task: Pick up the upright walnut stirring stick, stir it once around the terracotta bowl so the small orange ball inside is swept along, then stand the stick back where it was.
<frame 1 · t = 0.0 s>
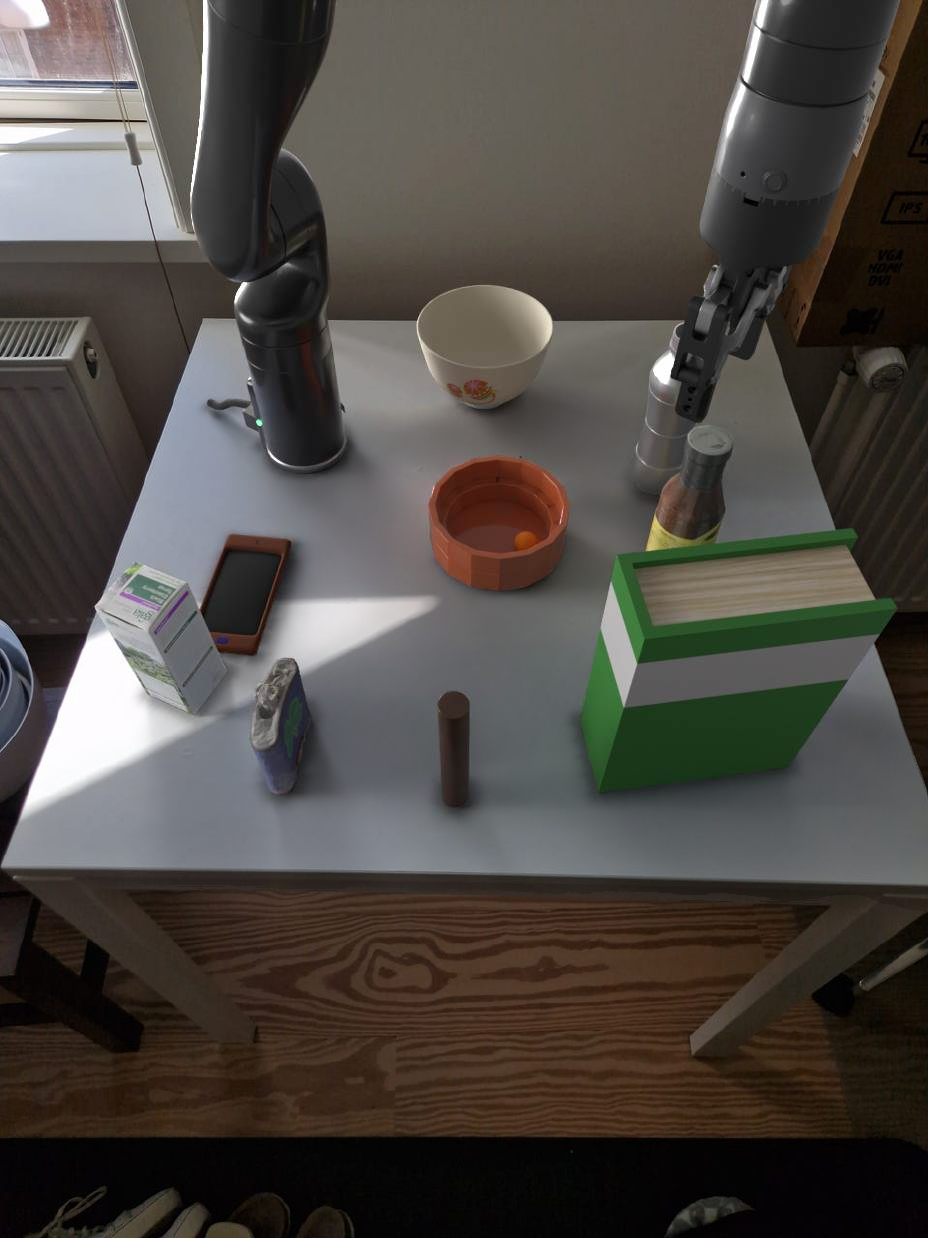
hand: (714, 384, 63), 29 cm above the table, tool pointing down, fingers open, 8 cm apart
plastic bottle: (654, 483, 99), on the table
bowl: (483, 394, 108), on the table
mixing bowl: (497, 542, 93), on the table
ball: (525, 543, 90), point 2 cm above the table, touching mixing bowl
syrup box: (188, 685, 83), on the table
hardback book: (681, 744, 79), on the table
sauce bottle: (667, 586, 90), on the table
stick: (455, 795, 76), on the table
flask: (289, 750, 78), on the table
smartphone: (242, 595, 89), on the table
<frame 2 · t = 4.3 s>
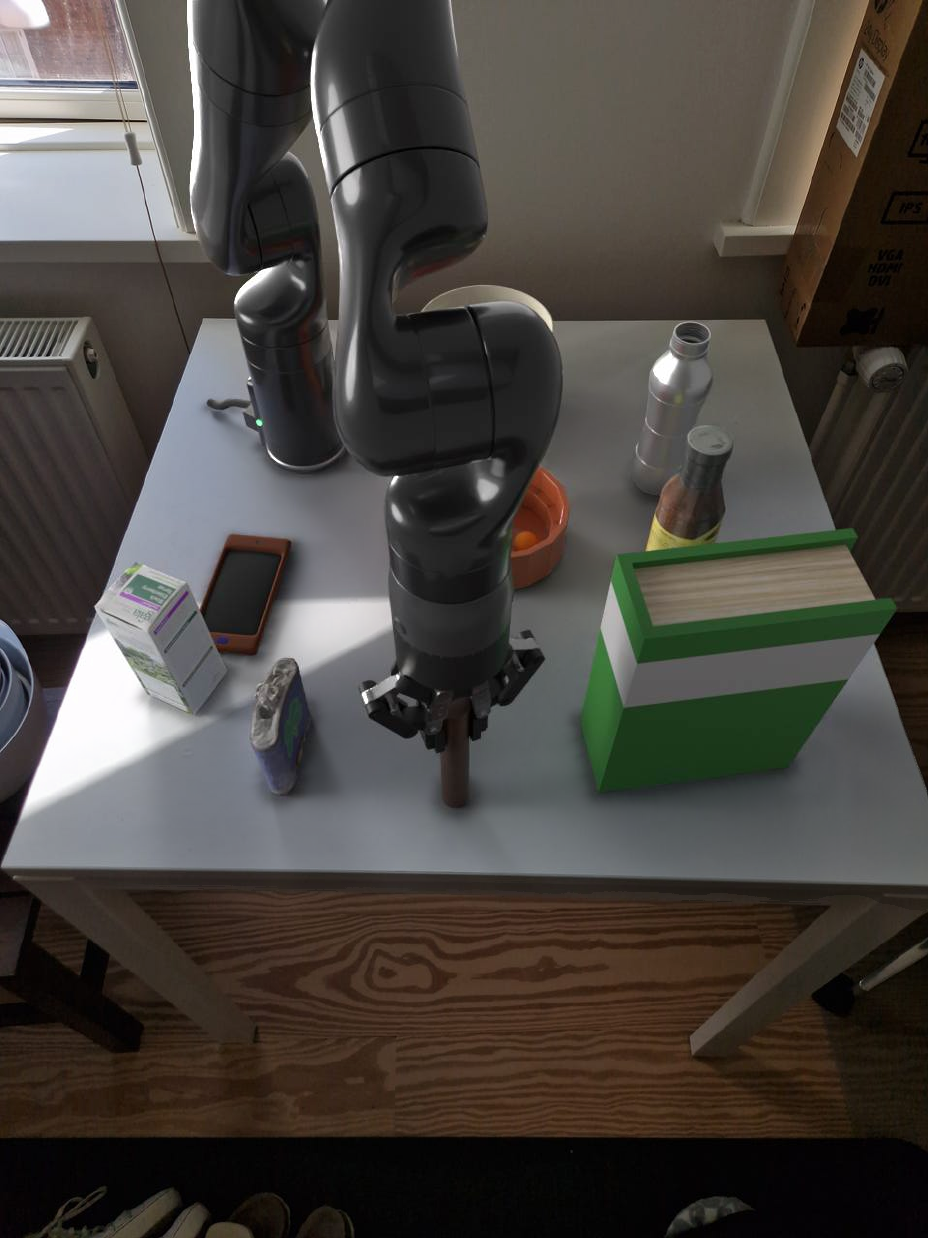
hand: (453, 736, 67), 11 cm above the table, tool pointing down, fingers closed on stick, 2 cm apart
stick: (455, 795, 76), on the table, touching gripper
everything else where it was.
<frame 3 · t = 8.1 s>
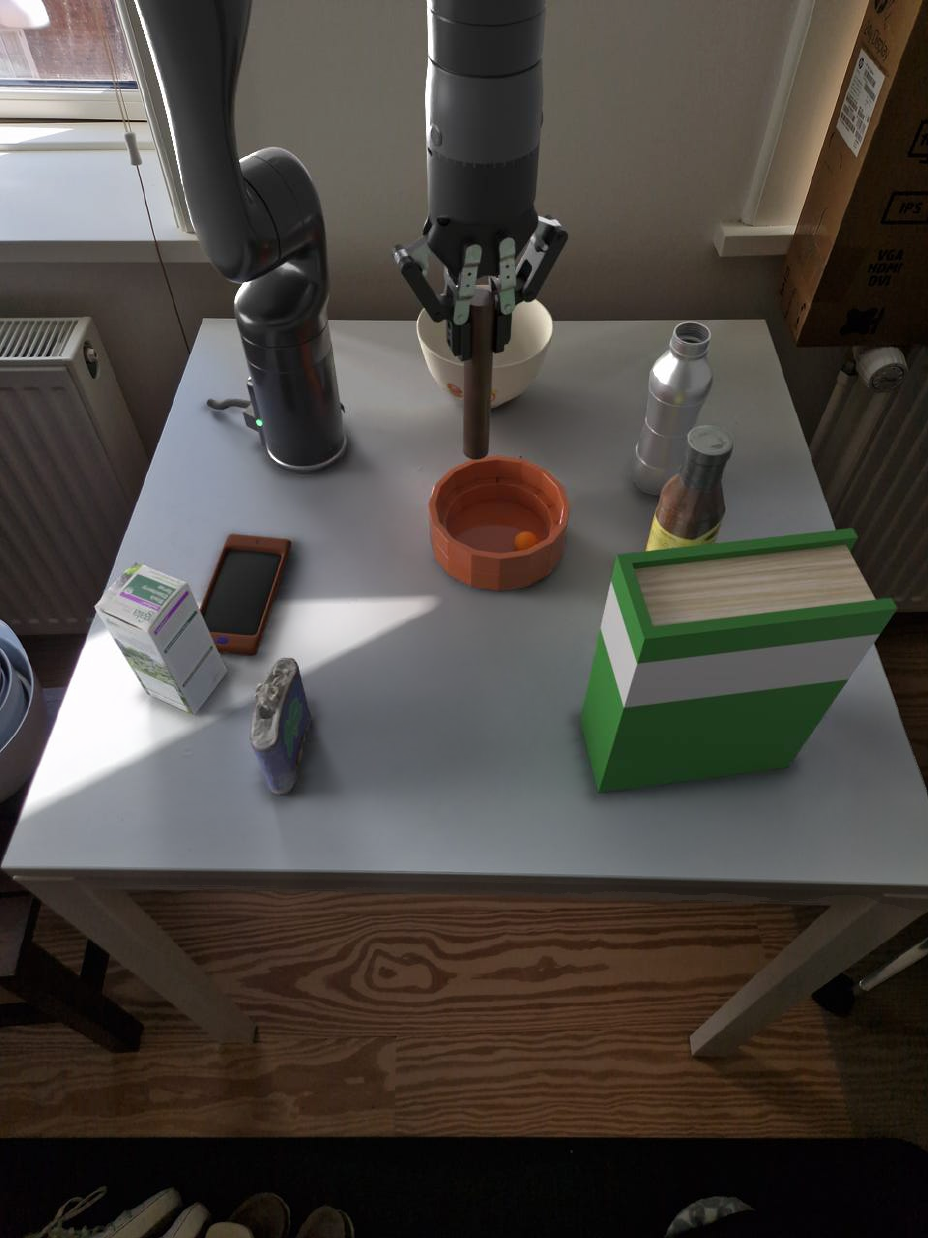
hand: (477, 350, 70), 27 cm above the table, tool pointing down, fingers closed on stick, 2 cm apart
stick: (475, 450, 79), point 16 cm above the table, touching gripper
everything else where it was.
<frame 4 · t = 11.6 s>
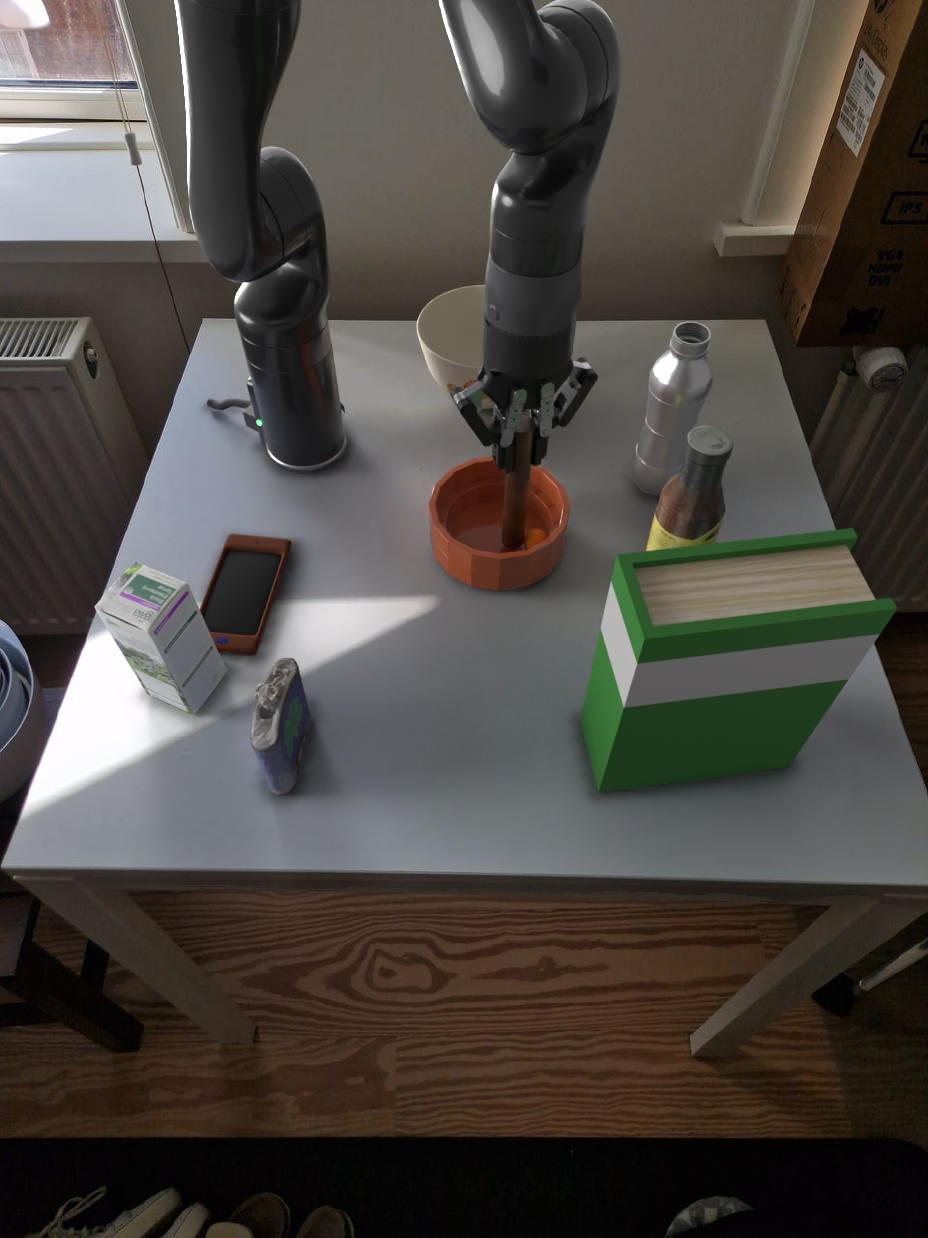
hand: (518, 463, 82), 13 cm above the table, tool pointing down, fingers closed on stick, 2 cm apart
ball: (536, 541, 90), point 2 cm above the table, tilted 46°, touching mixing bowl, stick
stick: (512, 539, 91), point 2 cm above the table, touching ball, gripper
everything else where it was.
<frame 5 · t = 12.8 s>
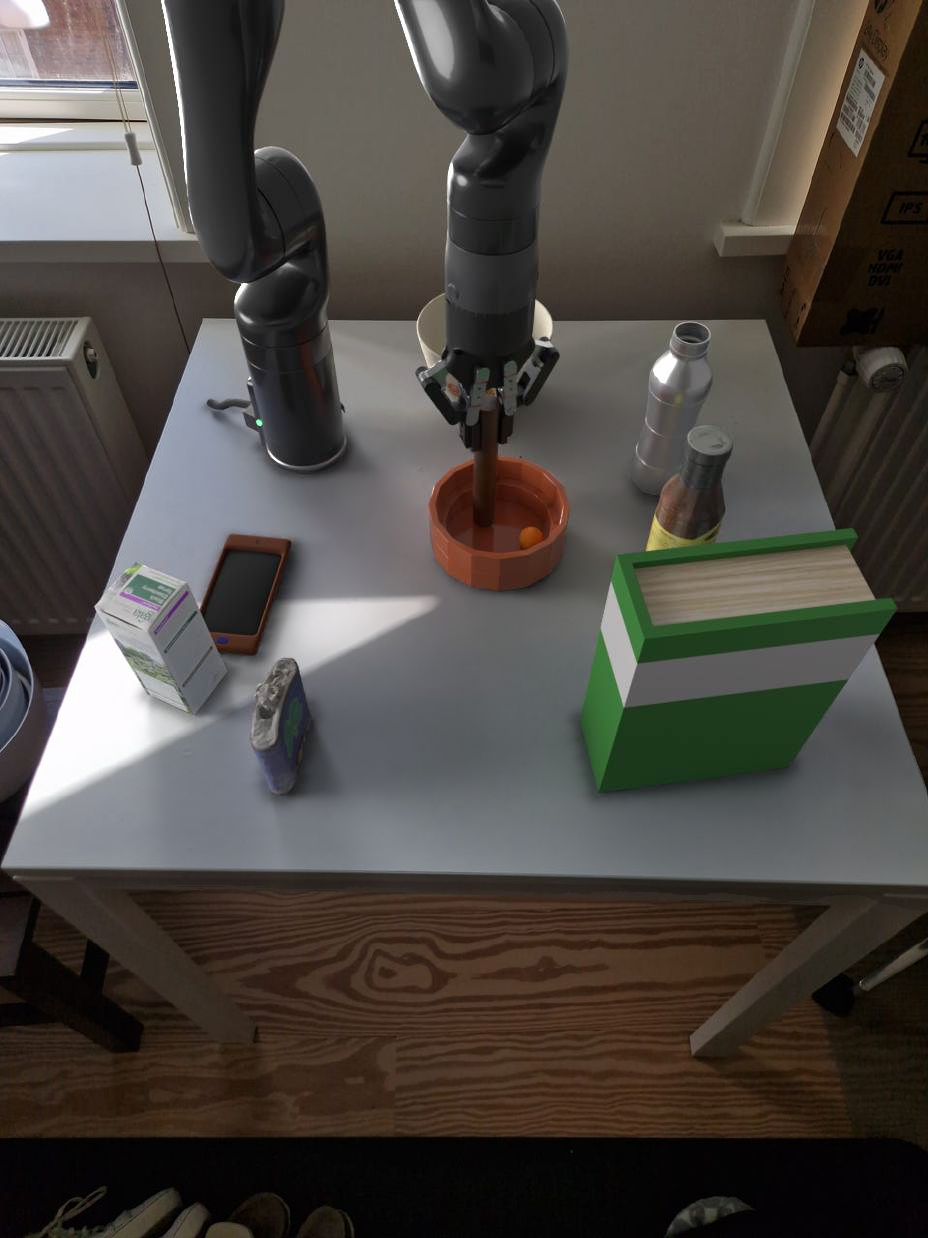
hand: (485, 442, 84), 13 cm above the table, tool pointing down, fingers closed on stick, 2 cm apart
ball: (531, 539, 91), point 2 cm above the table, tilted 21°, touching mixing bowl
stick: (483, 519, 93), point 2 cm above the table, touching gripper
everything else where it was.
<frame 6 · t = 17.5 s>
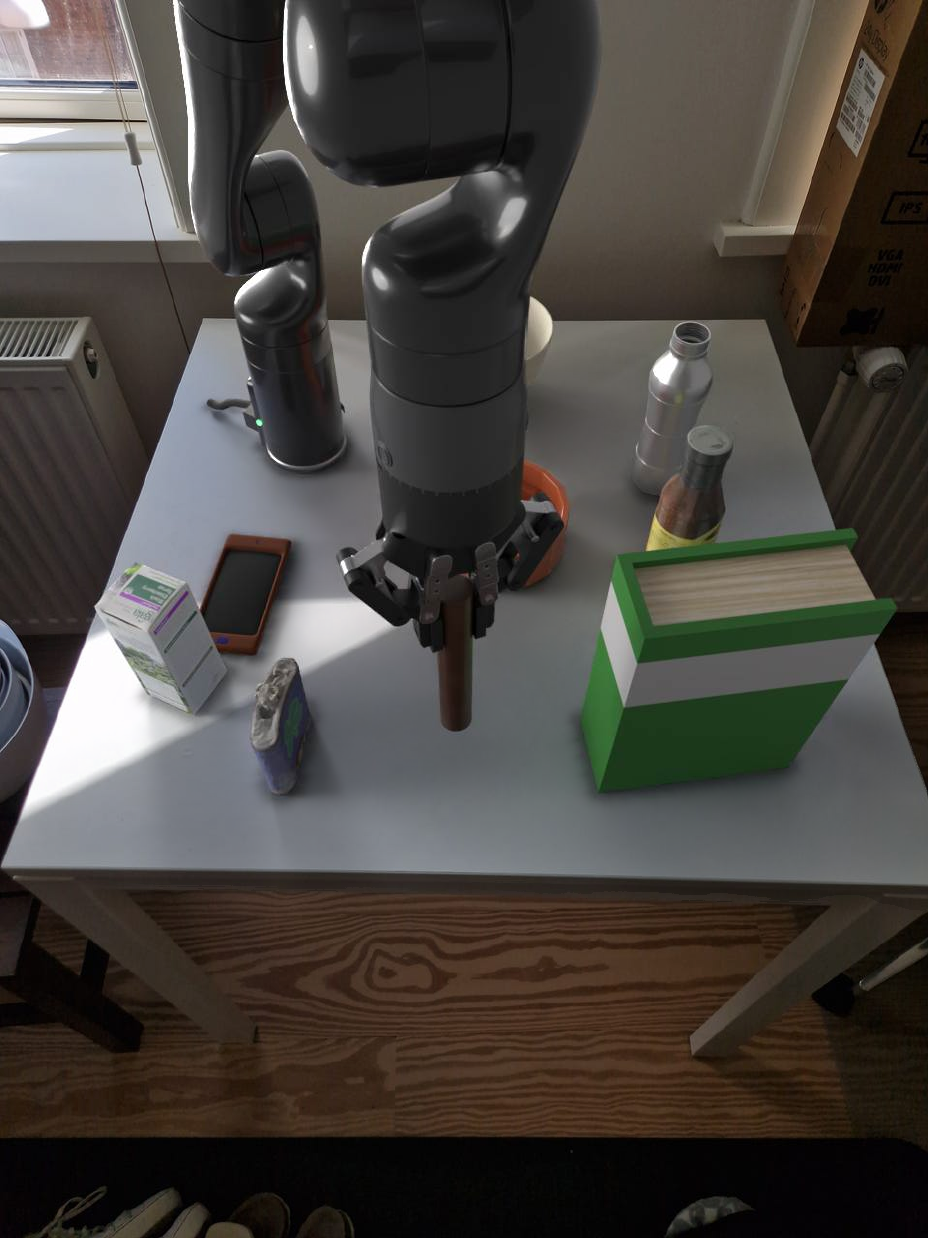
hand: (453, 634, 56), 25 cm above the table, tool pointing down, fingers closed on stick, 2 cm apart
ball: (508, 535, 91), point 2 cm above the table, tilted 91°, touching mixing bowl
stick: (456, 718, 65), point 13 cm above the table, touching gripper
everything else where it was.
when the fingers open (11 cm above the table, at t = 21.3 s): stick stays where it is, on the table.
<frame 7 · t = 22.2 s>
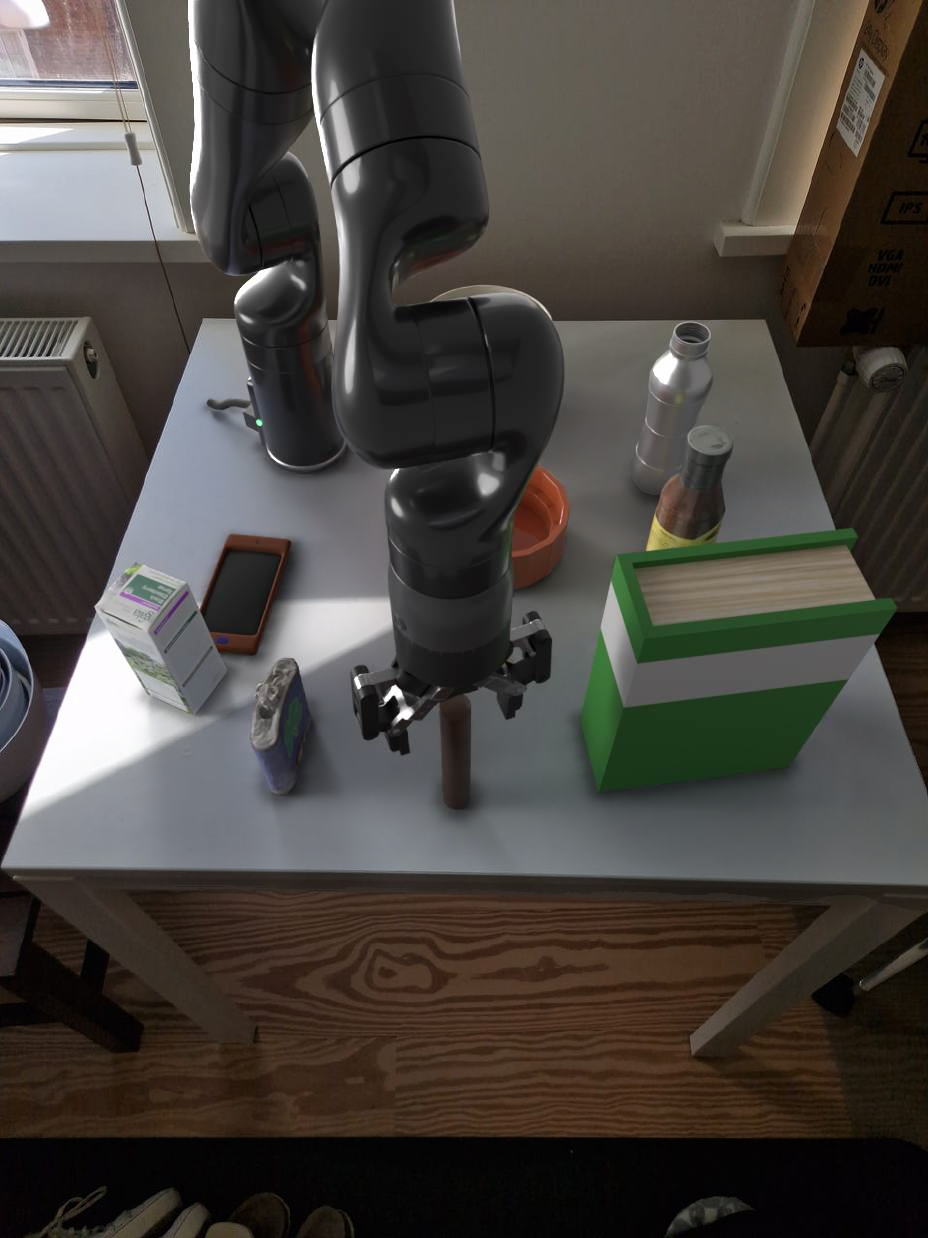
hand: (453, 726, 65), 13 cm above the table, tool pointing down, fingers open, 8 cm apart
ball: (485, 531, 91), point 2 cm above the table, tilted 157°, touching mixing bowl
stick: (456, 797, 76), on the table
everything else where it was.
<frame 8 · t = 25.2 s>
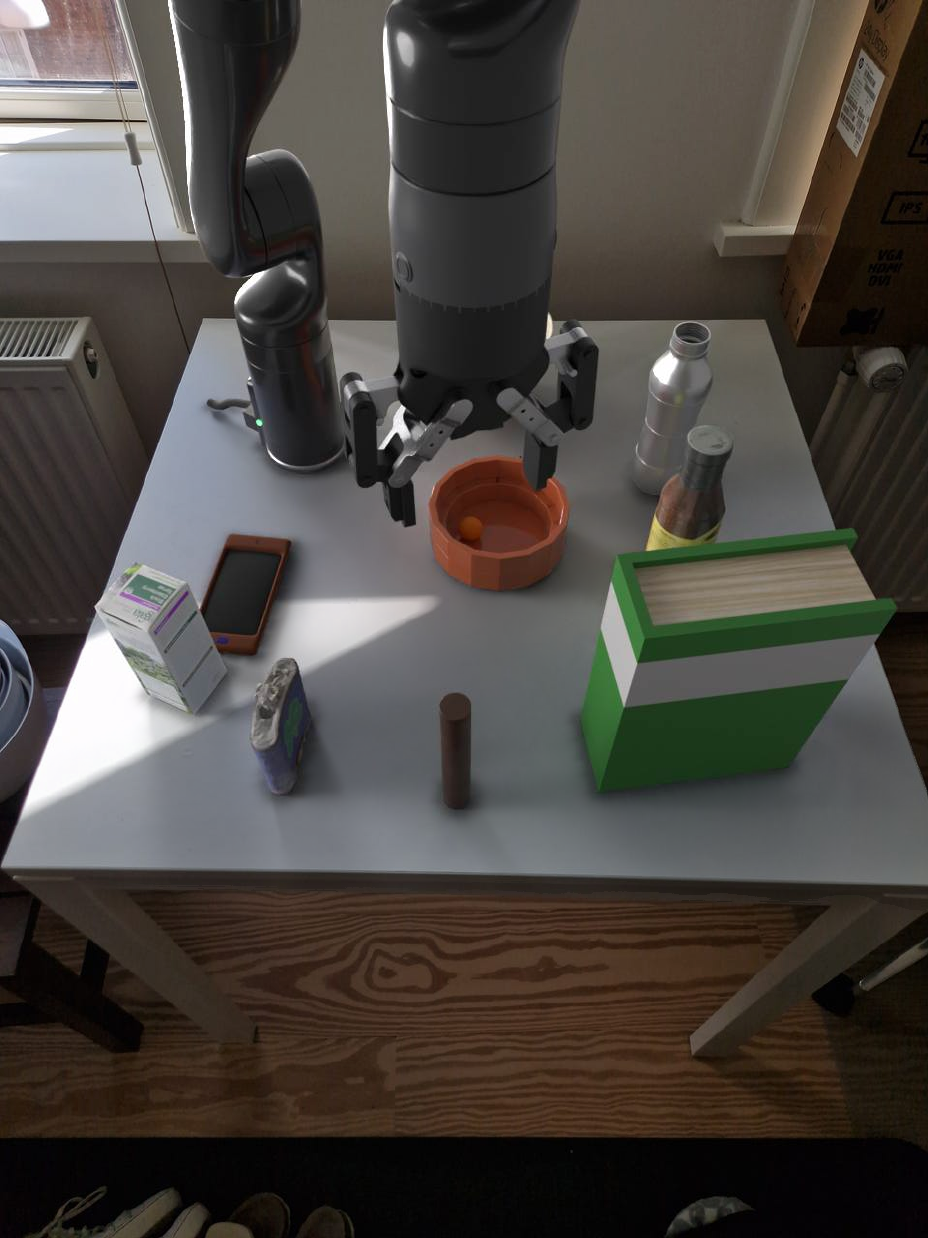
hand: (470, 498, 53), 32 cm above the table, tool pointing down, fingers open, 8 cm apart
ball: (470, 528, 91), point 2 cm above the table, tilted 88°, touching mixing bowl
everything else where it was.
at the end: ball moved 6.2 cm from its start; ball inside the target area in the mixing bowl (2.9 cm from its centre), point 2.1 cm above the mixing bowl's base; stick inside the target area (0.2 cm from its centre), on the table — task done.
